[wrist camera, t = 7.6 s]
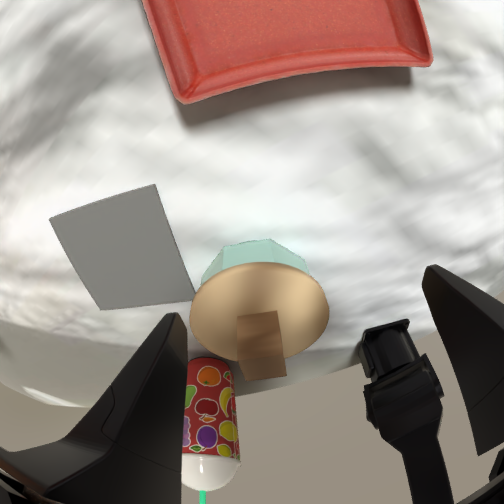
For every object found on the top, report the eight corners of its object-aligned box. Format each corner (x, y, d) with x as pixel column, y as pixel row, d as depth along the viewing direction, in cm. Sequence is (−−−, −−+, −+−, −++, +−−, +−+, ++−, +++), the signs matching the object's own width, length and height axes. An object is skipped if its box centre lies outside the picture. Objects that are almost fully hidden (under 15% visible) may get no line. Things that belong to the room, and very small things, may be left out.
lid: (326, 249, 18) (348, 300, 14) (325, 343, 24) (336, 388, 20) (171, 274, 19) (156, 328, 15) (212, 359, 25) (209, 404, 21)
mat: (155, 183, 20) (153, 185, 19) (197, 297, 26) (197, 299, 26) (50, 217, 20) (48, 219, 20) (101, 308, 27) (100, 310, 27)
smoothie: (207, 386, 37) (202, 511, 21) (165, 362, 33) (146, 503, 17) (251, 370, 34) (259, 512, 18) (209, 342, 31) (201, 512, 14)
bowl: (301, 230, 22) (313, 262, 19) (307, 306, 28) (315, 340, 24) (193, 248, 23) (185, 283, 19) (220, 319, 28) (218, 354, 25)
